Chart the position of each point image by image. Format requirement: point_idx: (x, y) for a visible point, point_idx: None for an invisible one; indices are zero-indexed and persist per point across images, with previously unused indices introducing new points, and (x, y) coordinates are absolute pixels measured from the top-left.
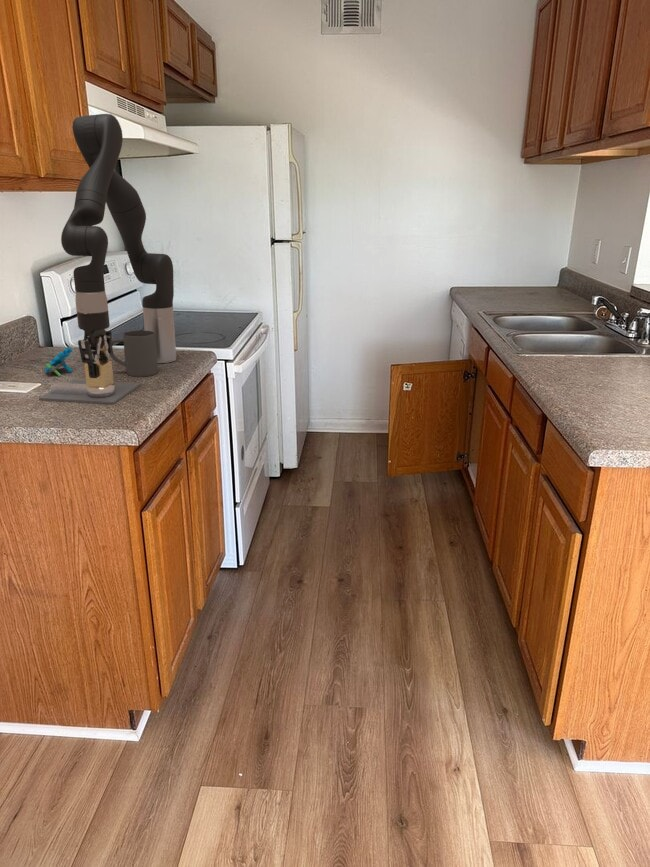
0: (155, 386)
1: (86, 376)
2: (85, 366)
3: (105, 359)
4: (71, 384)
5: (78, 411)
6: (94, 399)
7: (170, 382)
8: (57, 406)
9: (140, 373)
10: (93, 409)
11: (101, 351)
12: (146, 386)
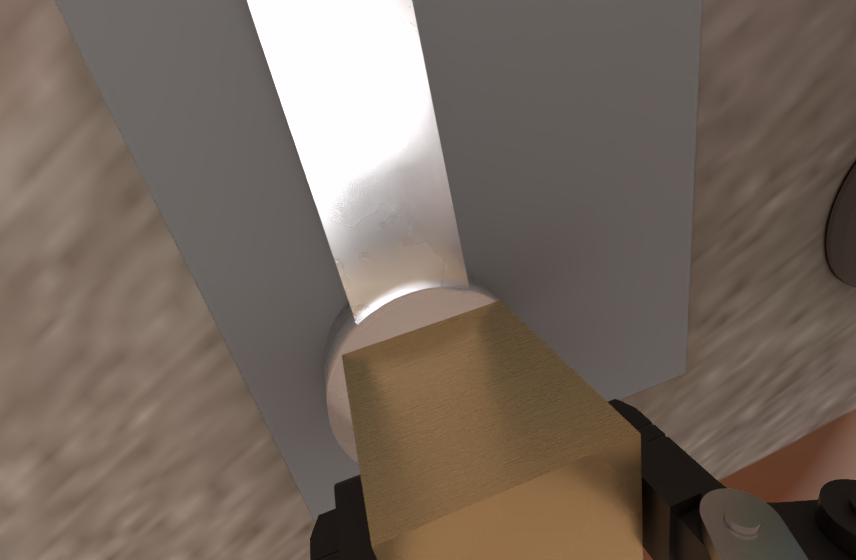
0: (668, 431)
1: (355, 425)
2: (369, 531)
3: (657, 555)
4: (391, 114)
5: (63, 468)
6: (298, 405)
7: (737, 436)
8: (29, 259)
9: (847, 257)
10: (166, 500)
11: (837, 527)
12: (661, 399)
